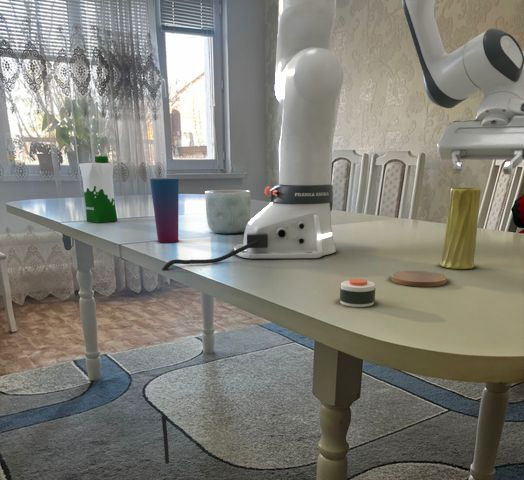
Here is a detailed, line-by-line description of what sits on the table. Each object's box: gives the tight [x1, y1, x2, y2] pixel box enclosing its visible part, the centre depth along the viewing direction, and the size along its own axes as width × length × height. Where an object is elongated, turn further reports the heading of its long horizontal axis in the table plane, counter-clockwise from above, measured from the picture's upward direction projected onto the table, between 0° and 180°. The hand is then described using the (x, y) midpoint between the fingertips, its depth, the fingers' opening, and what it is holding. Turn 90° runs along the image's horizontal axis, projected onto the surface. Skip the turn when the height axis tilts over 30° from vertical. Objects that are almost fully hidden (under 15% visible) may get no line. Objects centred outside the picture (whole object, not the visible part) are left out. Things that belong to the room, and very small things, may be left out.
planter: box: [204, 189, 252, 235], centre depth 148 cm, size 12×12×11 cm
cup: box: [149, 177, 179, 244], centre depth 133 cm, size 7×7×15 cm
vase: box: [440, 187, 482, 270], centre depth 101 cm, size 6×6×14 cm
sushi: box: [339, 278, 376, 308], centre depth 78 cm, size 5×5×3 cm
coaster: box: [391, 270, 448, 288], centre depth 92 cm, size 9×9×1 cm
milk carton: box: [78, 155, 118, 224], centre depth 174 cm, size 9×9×20 cm
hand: (481, 171), depth 106 cm, fingers open, 8 cm apart
